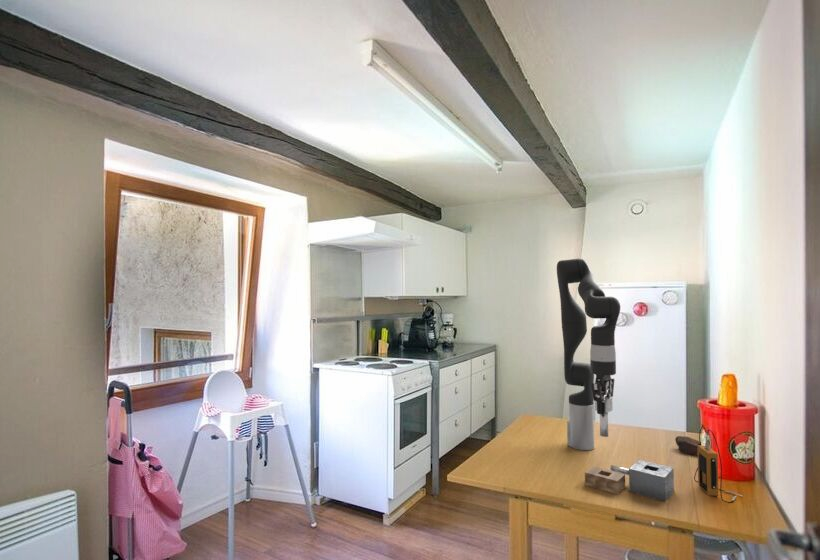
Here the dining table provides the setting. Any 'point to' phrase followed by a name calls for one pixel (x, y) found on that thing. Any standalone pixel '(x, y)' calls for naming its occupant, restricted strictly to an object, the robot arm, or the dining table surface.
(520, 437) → the dining table surface
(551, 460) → the dining table surface
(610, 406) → the grey square peg
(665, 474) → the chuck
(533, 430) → the dining table surface
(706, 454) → the multimeter
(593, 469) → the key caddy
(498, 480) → the dining table surface
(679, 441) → the rough brown rock chunk
